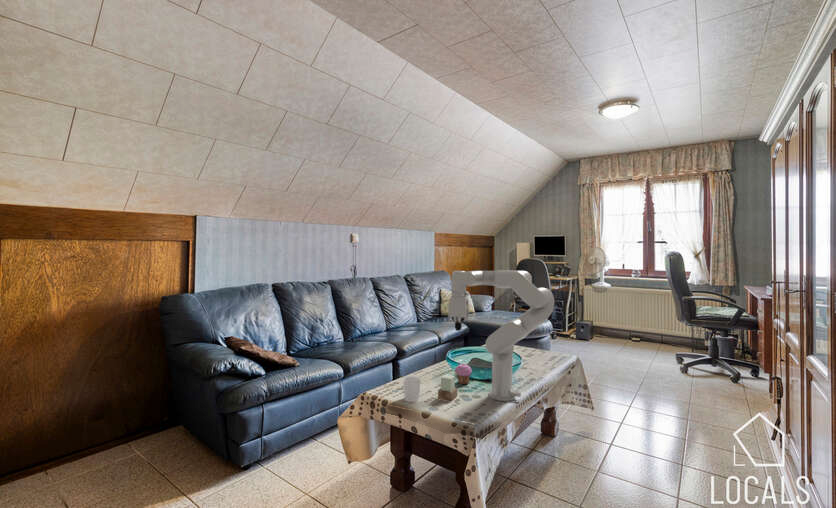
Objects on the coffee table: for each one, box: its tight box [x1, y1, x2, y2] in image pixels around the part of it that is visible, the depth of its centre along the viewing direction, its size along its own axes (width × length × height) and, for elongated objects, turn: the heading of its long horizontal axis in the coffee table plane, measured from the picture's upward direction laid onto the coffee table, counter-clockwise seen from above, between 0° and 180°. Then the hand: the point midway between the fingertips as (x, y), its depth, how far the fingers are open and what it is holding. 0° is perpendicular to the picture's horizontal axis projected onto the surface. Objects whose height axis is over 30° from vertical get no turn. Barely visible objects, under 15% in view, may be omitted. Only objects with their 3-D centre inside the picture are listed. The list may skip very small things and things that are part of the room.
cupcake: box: [454, 363, 473, 385], centre depth 208 cm, size 9×9×10 cm
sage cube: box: [440, 374, 456, 392], centre depth 186 cm, size 5×5×6 cm
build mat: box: [435, 395, 460, 403], centre depth 186 cm, size 18×12×1 cm, turn 63°
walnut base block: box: [437, 387, 458, 402], centre depth 186 cm, size 7×7×4 cm
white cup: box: [403, 375, 421, 403], centre depth 183 cm, size 8×8×10 cm
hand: (458, 330), depth 202 cm, fingers closed
